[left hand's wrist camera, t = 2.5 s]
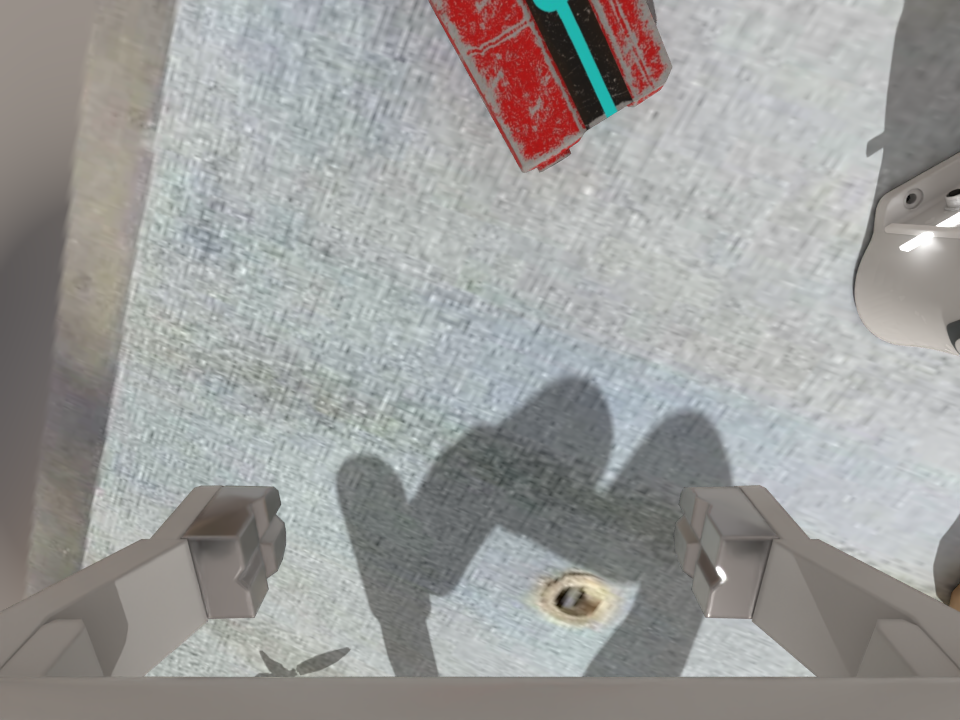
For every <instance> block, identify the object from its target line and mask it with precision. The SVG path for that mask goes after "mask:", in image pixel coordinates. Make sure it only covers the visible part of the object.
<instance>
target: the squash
mask: <svg viewBox="0 0 960 720" xmlns="http://www.w3.org/2000/svg"><path fill="white" fill-rule="evenodd" d="M949 607H951V608H953V609H955V610H957V611H959V612H960V584H959V585H958V586H957V587H956V588H955V589H954V591H953V592H952V593H951V599H950V605H949Z"/></svg>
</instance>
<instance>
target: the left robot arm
mask: <svg viewBox="0 0 960 720" xmlns="http://www.w3.org/2000/svg"><path fill="white" fill-rule="evenodd" d="M908 195H910V199H909V201H908V202H906V198H907V197H908ZM854 293H855V303H856V308H857V311H858V314H859V316H860V318H861V320H862V322H863V324H864V325H865V326H866V328H867V329H868V330H869V331H870V332H871V333H873V334H874V335H875V336H876V337H878V338H880V339H881V340H883V341H886V342H888V343H891V344H895V345H900V346H910V347H921V348H927V349H933V350H937V351H942V352H945V353H949V354H953V355H957V356H960V152H959V153H957V154H955V155H954V156H952V157H950V158H948V159H946V160H945V161H943V162H941V163H939V164H938V165H936V166H934V167H932V168H930V169H929V170H927V171H925V172H923V173H922V174H920V175H918V176H916V177H915V178H913V179H911V180H909V181H907V182H906V183H904V184H902V185H900V186H899V187H897V188H895V189H893V190H891V191H890V192H888V193H887V194H885V195H884V196H883V197H882V198H881V199H880V201H879V203H878V205H877V208H876V213H875V221H874V233H873V236H872V239H871V241H870V243H869V245H868V247H867V249H866V251H865V253H864V255H863V257H862V260H861V262H860V265H859V268H858V271H857V275H856V280H855V291H854ZM280 506H281V501H280V496H279V491H278V490H277V489H276V488H275V487H269V486H198V487H195V488H194V489H193V490H192V491H191V492H190V493H189V495H188V496H187V497H186V498H185V499H184V500H183V501H182V503H181V504H180V505H179V506H178V507H177V508H176V509H175V511H174V512H173V513H172V514H171V515H170V516H169V518H168V519H167V520H166V521H165V522H164V523H163V524H162V526H161V527H160V528H159V529H158V530H157V531H156V532H155V534H154V535H153V536H152V537H151V538H150V539H141V540H139V541H137V542H135V543H133V544H131V545H129V546H127V547H125V548H123V549H121V550H119V551H117V552H116V553H114V554H112V555H110V556H108V557H106V558H104V559H102V560H100V561H98V562H96V563H94V564H92V565H90V566H88V567H86V568H84V569H82V570H80V571H79V572H77V573H75V574H73V575H71V576H69V577H67V578H65V579H63V580H61V581H59V582H57V583H55V584H53V585H51V586H49V587H47V588H45V589H43V590H42V591H40V592H38V593H36V594H34V595H32V596H30V597H28V598H26V599H24V600H22V601H20V602H18V603H16V604H14V605H12V606H10V607H8V608H6V609H5V610H3V611H1V612H0V720H960V612H959V611H957V610H955V609H953V608H951V607H949V606H947V605H945V604H943V603H942V602H940V601H938V600H936V599H934V598H932V597H930V596H928V595H926V594H924V593H922V592H920V591H918V590H916V589H914V588H912V587H910V586H908V585H907V584H905V583H903V582H901V581H899V580H897V579H895V578H893V577H891V576H889V575H887V574H885V573H883V572H881V571H879V570H877V569H875V568H874V567H872V566H870V565H868V564H866V563H864V562H862V561H860V560H858V559H856V558H854V557H852V556H850V555H848V554H846V553H844V552H842V551H840V550H839V549H837V548H835V547H833V546H831V545H829V544H827V543H825V542H823V541H821V540H819V539H810V538H809V537H808V536H807V535H806V534H805V532H804V531H803V530H802V529H801V528H800V527H799V526H798V524H797V523H796V522H795V521H794V520H793V519H792V518H791V516H790V515H789V514H788V513H787V512H786V511H785V510H784V508H783V507H782V506H781V505H780V504H779V503H778V501H777V500H776V499H775V498H774V497H773V496H772V495H771V493H770V492H769V491H768V490H767V489H766V488H765V487H762V486H760V485H749V486H734V487H684V488H683V490H682V492H681V495H680V500H679V506H680V508H681V509H682V511H683V513H684V515H683V516H682V517H681V518H680V519H679V520H678V521H677V522H676V523H675V531H674V546H675V553H676V556H677V560H678V562H679V565H680V567H681V569H682V571H683V572H684V573H686V574H687V575H689V576H690V577H691V578H693V583H692V588H691V590H692V592H693V594H694V596H695V598H696V600H697V602H698V604H699V606H700V608H701V610H702V612H703V614H704V616H705V618H738V619H752V622H753V623H755V624H756V625H757V626H758V627H759V628H760V629H762V630H763V631H764V632H765V633H766V634H767V635H769V636H770V637H771V638H772V639H773V640H775V641H776V642H777V643H778V644H779V645H780V646H782V647H783V648H784V649H785V650H786V651H787V652H789V653H790V654H791V655H792V656H793V657H794V658H796V659H797V660H798V661H799V662H800V663H801V664H803V665H804V666H805V667H806V668H807V669H808V670H810V671H811V672H812V673H813V674H814V675H815V676H817V677H143V676H145V675H146V674H147V673H148V672H149V671H151V670H152V669H153V668H154V667H155V666H156V665H158V664H159V663H160V662H161V661H162V660H163V659H165V658H166V657H167V656H168V655H169V654H170V653H172V652H173V651H174V650H175V649H176V648H177V647H179V646H180V645H181V644H182V643H183V642H185V641H186V640H187V639H188V638H189V637H190V636H192V635H193V634H194V633H195V632H196V631H197V630H199V629H200V628H201V627H202V626H203V625H204V624H206V623H207V622H208V619H222V618H255V616H256V614H257V612H258V610H259V608H260V606H261V604H262V602H263V600H264V598H265V596H266V594H267V592H268V590H269V588H268V583H267V578H269V577H270V576H271V575H273V574H274V573H276V572H277V571H278V569H279V567H280V565H281V562H282V560H283V556H284V552H285V547H286V529H285V523H284V522H283V521H282V520H281V519H280V518H279V517H278V516H277V515H276V513H277V511H278V509H279V508H280Z"/></svg>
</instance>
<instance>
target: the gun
mask: <svg viewBox="0 0 960 720" xmlns="http://www.w3.org/2000/svg"><path fill="white" fill-rule="evenodd" d="M428 1H429V3H430V5H431V6H432V8H433V10H434V12H435V14H436V16H437V18H438V19H439V21H440V23H441V25H442V27H443V29H444V30H445V32H446V34H447V36H448V38H449V40H450V41H451V43H452V45H453V47H454V49H455V50H456V52H457V54H458V56H459V58H460V60H461V61H462V63H463V65H464V67H465V69H466V71H467V72H468V74H469V76H470V78H471V80H472V82H473V83H474V85H475V87H476V89H477V91H478V93H479V94H480V96H481V98H482V100H483V102H484V103H485V105H486V107H487V109H488V111H489V113H490V114H491V116H492V118H493V120H494V122H495V124H496V125H497V127H498V129H499V131H500V133H501V135H502V136H503V138H504V140H505V142H506V144H507V145H508V147H509V149H510V151H511V153H512V155H513V156H514V158H515V160H516V162H517V164H518V166H519V167H520V169H521V171H522V172H523V173H526V172H528V171H530V170H533V169H535V168H538V170H539V172H542V171H544V170H546V169H548V168H549V167H551V166H553V165H555V164H556V163H558V162H560V161H561V160H563V159H564V158H566V157H567V156H569V155H570V154H571V152H570V150H569V148H570V147H572V146H573V145H574V144H576V143H577V142H579V141H580V139H581V137H582V136H583V134H584V133H585V132H586V131H587V130H588V129H590V128H592V127H593V126H595V125H596V124H598V123H600V122H601V121H603V120H604V119H606V118H608V117H609V116H611V115H612V114H614V113H616V112H617V111H619V110H621V109H622V108H624V107H625V106H629V107H635V106H636V105H638V104H640V103H641V102H643V101H644V100H646V99H647V98H649V97H650V96H652V95H653V94H655V93H656V92H658V91H660V90H661V88H662V87H663V85H664V84H665V82H666V80H667V78H668V76H669V73H670V71H671V69H672V65H671V62H670V60H669V57H668V55H667V52H666V50H665V47H664V44H663V42H662V39H661V37H660V34H659V32H658V29H657V27H656V24H655V22H654V19H653V17H652V14H651V12H650V9H649V7H648V4H647V2H646V0H428Z"/></svg>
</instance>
